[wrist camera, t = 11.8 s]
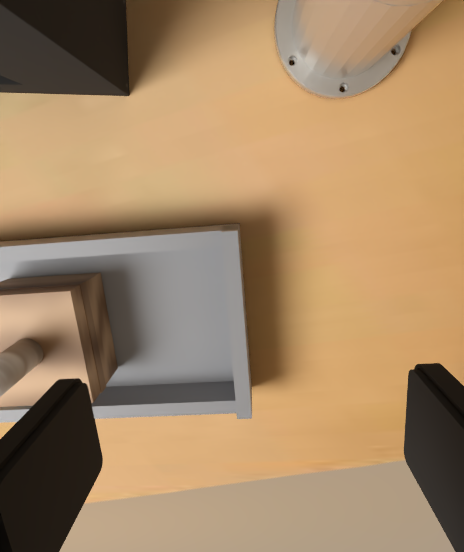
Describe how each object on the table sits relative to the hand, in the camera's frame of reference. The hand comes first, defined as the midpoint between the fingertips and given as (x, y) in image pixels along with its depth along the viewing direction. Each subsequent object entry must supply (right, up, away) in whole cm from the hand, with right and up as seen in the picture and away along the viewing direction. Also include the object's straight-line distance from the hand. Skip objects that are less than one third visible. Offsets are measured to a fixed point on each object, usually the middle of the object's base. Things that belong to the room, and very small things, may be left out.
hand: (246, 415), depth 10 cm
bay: (-14, -1, +32) cm, 35 cm away
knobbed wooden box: (-20, -2, +31) cm, 38 cm away
